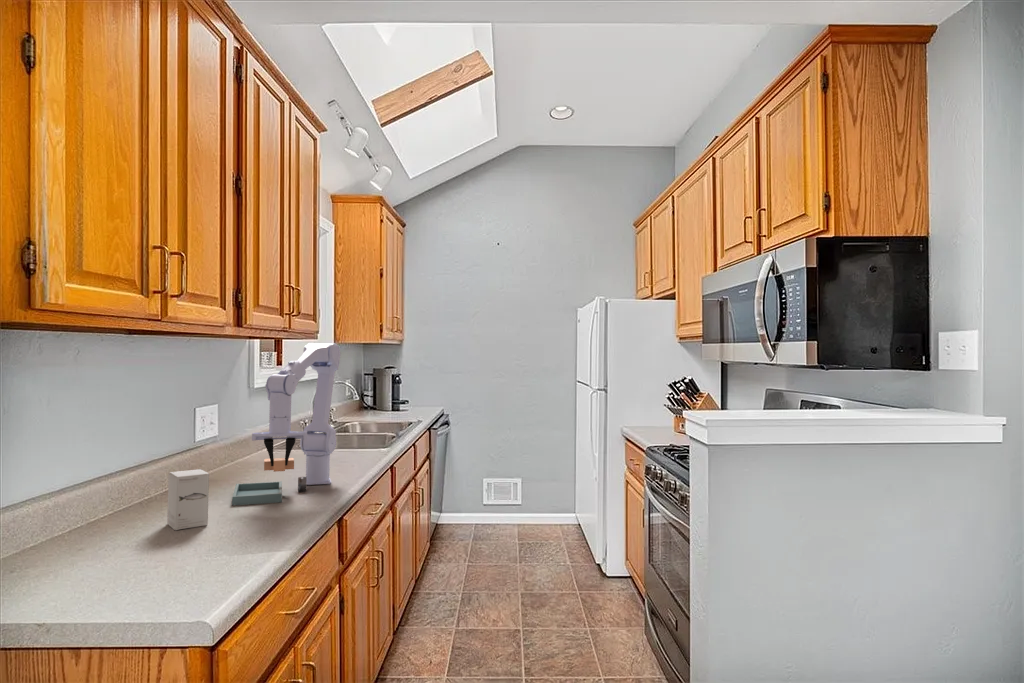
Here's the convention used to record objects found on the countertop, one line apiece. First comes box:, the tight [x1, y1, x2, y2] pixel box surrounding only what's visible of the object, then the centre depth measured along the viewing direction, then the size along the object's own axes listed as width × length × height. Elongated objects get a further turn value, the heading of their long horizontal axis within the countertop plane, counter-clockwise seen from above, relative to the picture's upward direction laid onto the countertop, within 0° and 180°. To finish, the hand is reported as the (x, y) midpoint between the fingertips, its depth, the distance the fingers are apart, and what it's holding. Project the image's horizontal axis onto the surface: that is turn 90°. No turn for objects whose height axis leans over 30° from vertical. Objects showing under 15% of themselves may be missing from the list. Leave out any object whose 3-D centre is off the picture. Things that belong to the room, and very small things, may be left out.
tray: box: [231, 480, 283, 506], centre depth 181 cm, size 17×13×2 cm
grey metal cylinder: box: [297, 476, 307, 493], centre depth 189 cm, size 2×2×4 cm
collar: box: [263, 457, 295, 473], centre depth 183 cm, size 12×8×3 cm, turn 20°
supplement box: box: [166, 469, 210, 531], centre depth 153 cm, size 7×7×13 cm
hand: (279, 465), depth 179 cm, fingers closed on collar, 3 cm apart
